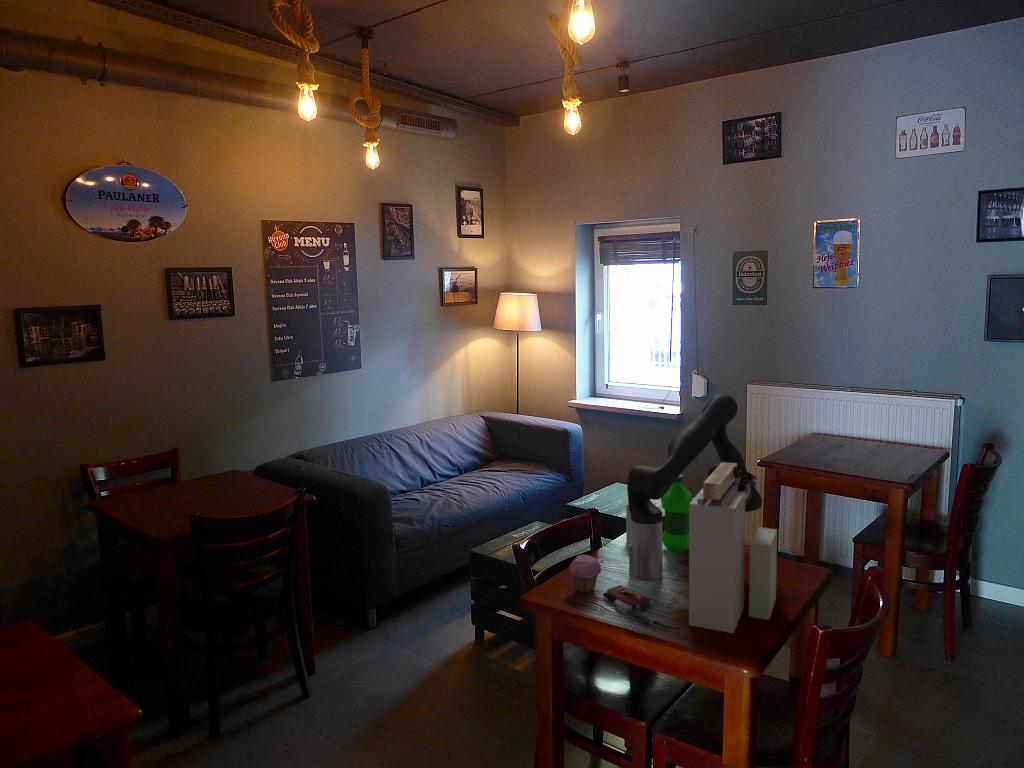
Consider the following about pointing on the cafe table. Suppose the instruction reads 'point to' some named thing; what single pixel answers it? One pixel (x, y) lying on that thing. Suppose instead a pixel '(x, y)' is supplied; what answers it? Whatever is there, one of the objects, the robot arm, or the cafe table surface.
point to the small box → (628, 524)
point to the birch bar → (719, 481)
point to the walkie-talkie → (628, 601)
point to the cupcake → (585, 572)
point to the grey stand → (716, 560)
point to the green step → (762, 573)
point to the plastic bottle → (676, 517)
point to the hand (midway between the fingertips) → (725, 469)
